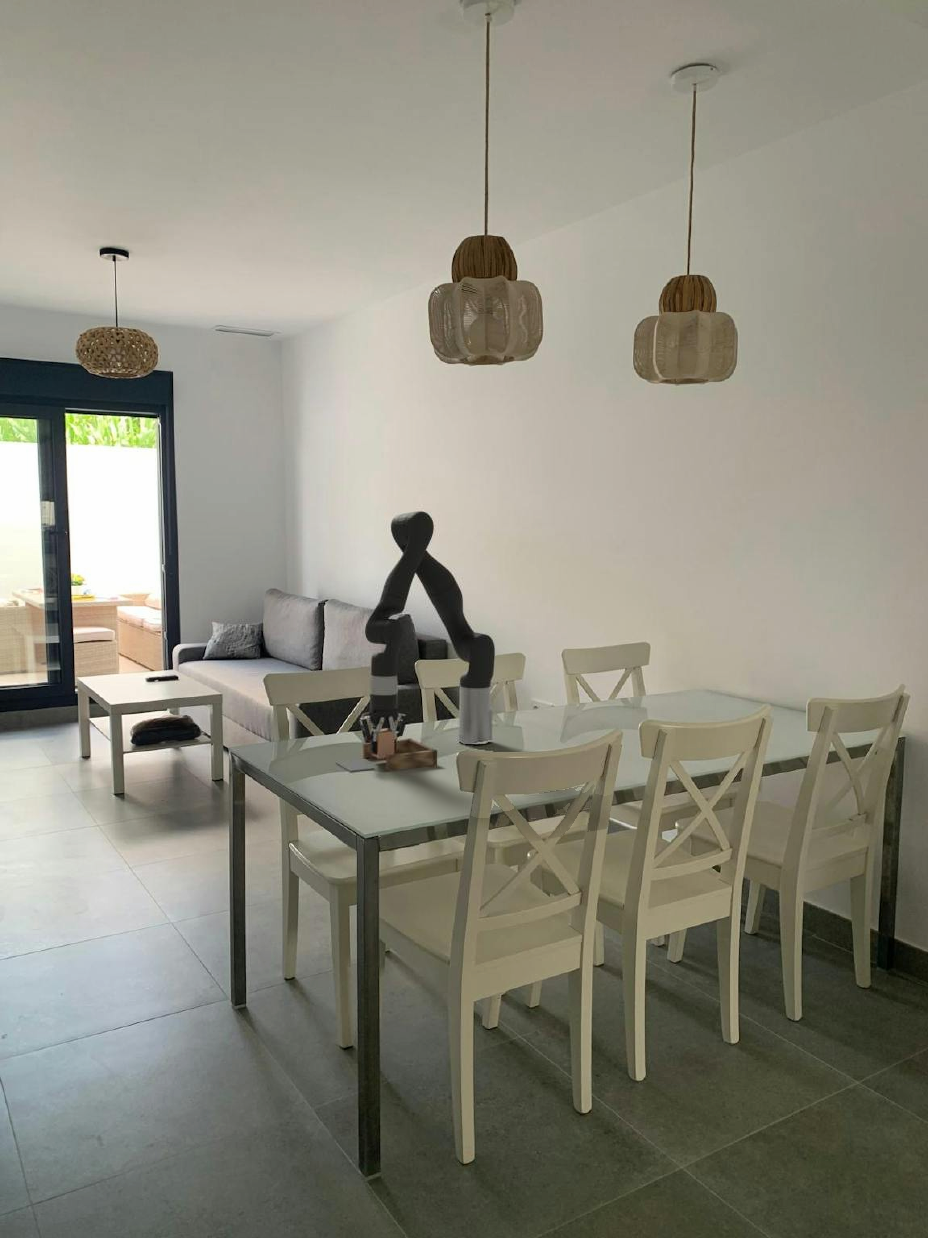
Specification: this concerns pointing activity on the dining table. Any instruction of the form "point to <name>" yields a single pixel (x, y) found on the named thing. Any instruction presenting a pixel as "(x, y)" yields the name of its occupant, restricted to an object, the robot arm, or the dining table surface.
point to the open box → (406, 755)
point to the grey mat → (355, 765)
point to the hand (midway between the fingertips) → (383, 752)
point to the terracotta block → (385, 743)
